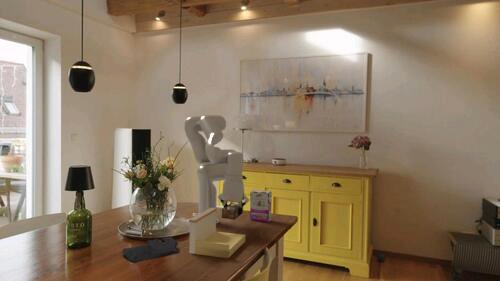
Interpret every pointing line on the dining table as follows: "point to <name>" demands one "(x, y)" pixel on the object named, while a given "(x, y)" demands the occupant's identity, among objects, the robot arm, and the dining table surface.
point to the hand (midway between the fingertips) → (232, 213)
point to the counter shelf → (212, 236)
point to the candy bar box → (260, 205)
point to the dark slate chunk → (151, 250)
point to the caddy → (230, 211)
